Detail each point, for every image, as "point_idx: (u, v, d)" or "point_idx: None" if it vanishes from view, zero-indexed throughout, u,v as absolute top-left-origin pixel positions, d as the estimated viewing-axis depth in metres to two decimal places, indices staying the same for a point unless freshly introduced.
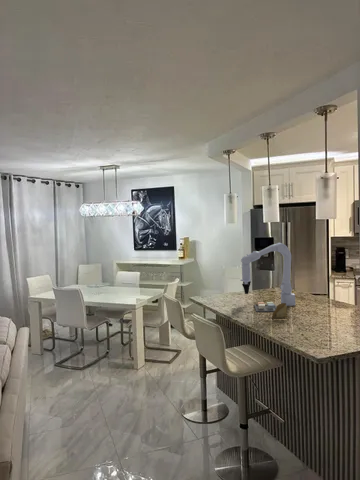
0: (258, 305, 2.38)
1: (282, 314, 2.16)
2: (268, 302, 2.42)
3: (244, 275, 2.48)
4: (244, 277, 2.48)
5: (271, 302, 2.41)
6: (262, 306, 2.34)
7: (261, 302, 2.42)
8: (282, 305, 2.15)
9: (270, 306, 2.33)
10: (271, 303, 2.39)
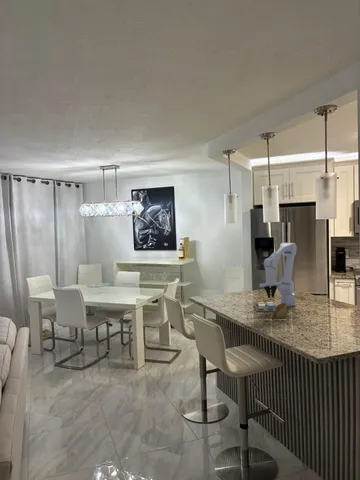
0: (258, 305, 2.38)
1: (281, 314, 2.16)
2: (268, 302, 2.42)
3: None
4: None
5: (271, 302, 2.41)
6: (262, 306, 2.34)
7: (261, 302, 2.42)
8: (282, 305, 2.15)
9: (270, 306, 2.33)
10: (271, 303, 2.39)
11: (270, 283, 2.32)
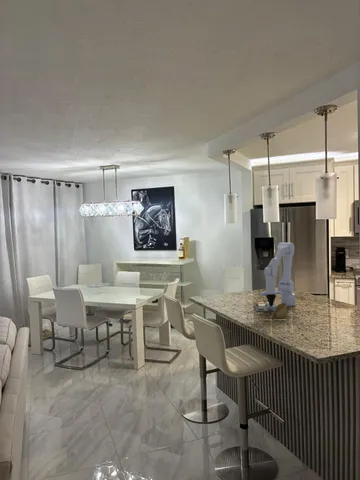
0: (258, 305, 2.38)
1: (282, 314, 2.16)
2: (268, 302, 2.42)
3: (266, 286, 2.35)
4: (266, 289, 2.35)
5: None
6: (262, 306, 2.34)
7: (261, 302, 2.42)
8: (282, 305, 2.15)
9: (270, 307, 2.33)
10: None
11: (270, 292, 2.32)
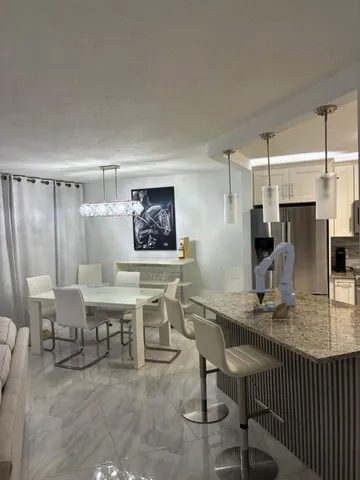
0: (258, 305, 2.38)
1: (282, 314, 2.16)
2: (268, 302, 2.42)
3: None
4: None
5: (271, 302, 2.41)
6: (262, 306, 2.34)
7: None
8: (282, 305, 2.15)
9: (270, 308, 2.33)
10: (271, 303, 2.39)
11: (258, 290, 2.39)
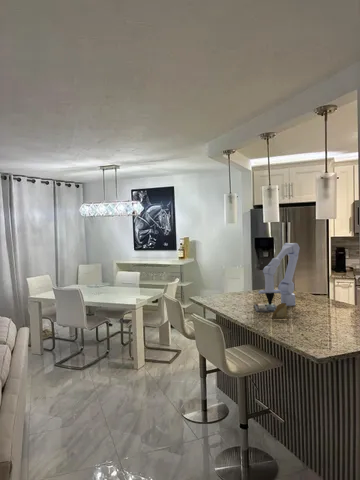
0: (258, 305, 2.38)
1: (282, 314, 2.16)
2: (268, 303, 2.42)
3: None
4: None
5: (271, 303, 2.41)
6: (262, 306, 2.34)
7: None
8: (282, 305, 2.15)
9: (270, 308, 2.33)
10: (271, 304, 2.39)
11: (268, 290, 2.38)
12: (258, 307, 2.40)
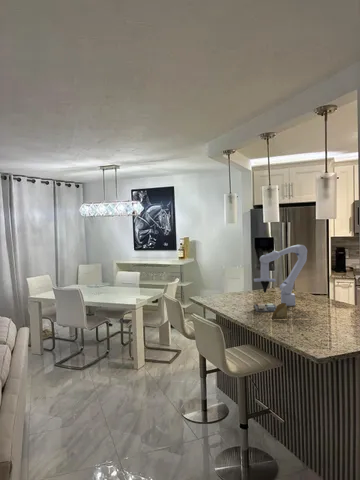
0: (258, 305, 2.38)
1: (281, 314, 2.16)
2: (268, 304, 2.42)
3: None
4: None
5: (271, 304, 2.41)
6: (262, 306, 2.34)
7: None
8: (282, 305, 2.15)
9: (270, 308, 2.33)
10: (271, 305, 2.39)
11: (263, 278, 2.45)
12: (258, 307, 2.40)
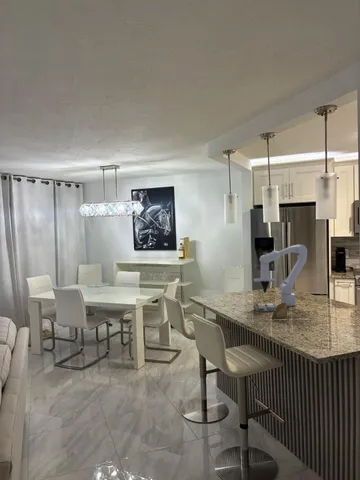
0: (258, 305, 2.38)
1: (282, 314, 2.16)
2: (268, 304, 2.42)
3: None
4: None
5: (271, 304, 2.41)
6: (262, 306, 2.34)
7: None
8: (282, 305, 2.15)
9: (270, 308, 2.33)
10: (271, 305, 2.39)
11: (263, 278, 2.45)
12: (258, 307, 2.40)
